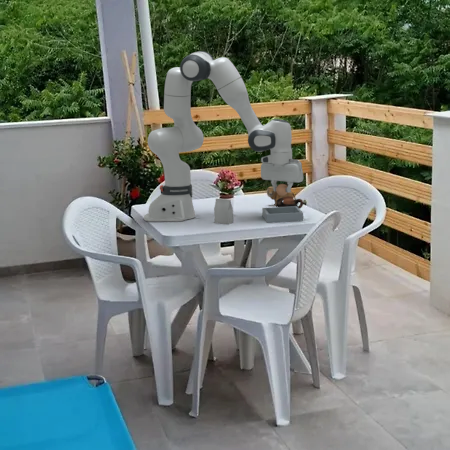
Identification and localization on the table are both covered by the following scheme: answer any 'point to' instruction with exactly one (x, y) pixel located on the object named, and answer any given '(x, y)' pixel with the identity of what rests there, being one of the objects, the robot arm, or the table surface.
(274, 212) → the gray square tray
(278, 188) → the rubber ball
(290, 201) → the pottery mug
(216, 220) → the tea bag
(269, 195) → the lion figurine
